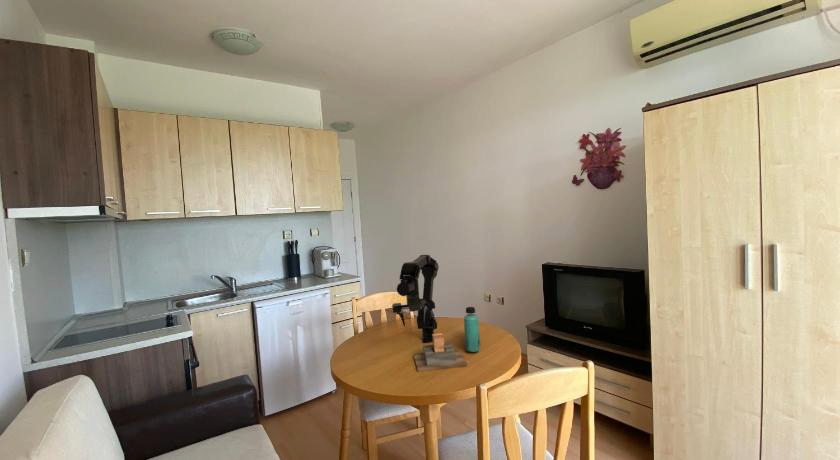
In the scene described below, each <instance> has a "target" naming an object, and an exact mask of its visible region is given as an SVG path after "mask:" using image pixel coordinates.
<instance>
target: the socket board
mask: <svg viewBox="0 0 840 460" xmlns="http://www.w3.org/2000/svg"><path fill="white" fill-rule="evenodd" d="M413 357H414V361H415V365H416V369H417V372H418V373H419V372H420V373H421V372H429V371H438V370H445V369H447V370H448V369H455V368H464V367H468V363H467V360H465V357H464V356H463V355H462V352H461V351H460V350H459V348H453V346H452V344H451V343H450V342H444V351H442V352H433V344H424V345H422V352H417V353H413Z"/></svg>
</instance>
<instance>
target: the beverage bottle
mask: <svg viewBox="0 0 840 460" xmlns="http://www.w3.org/2000/svg"><path fill="white" fill-rule="evenodd" d="M465 313H466V315H465V316H464V317H463V323H464V325H465V330H464V345H465V349H466V351H468V352H473V353H474V352H479V351H481V340H480V324H479V317H478V315H476V307H474V306H468V307H465ZM464 325H463V326H464Z"/></svg>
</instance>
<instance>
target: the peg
mask: <svg viewBox="0 0 840 460" xmlns="http://www.w3.org/2000/svg"><path fill="white" fill-rule="evenodd" d="M432 336H433V342H432V345H433V352H442V351H444V343H445V342H444V341H445V340H444V335H443V333H442V332H441V333H434V334H432Z"/></svg>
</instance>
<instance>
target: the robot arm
mask: <svg viewBox="0 0 840 460" xmlns="http://www.w3.org/2000/svg"><path fill="white" fill-rule="evenodd" d="M439 269H440V268H439V263H438V261H437V260H435V259H434V258H433V257H431V255H429V254H420V255H419V256H417V258H416V259H414V260H413V261H406V262H403V264H402V266H401V270H400V274H399V280H400V283H399V284H397V287H396V292H397V294H398V295H400V296H401V297H406V304H402V302H397V303H395V302H394V303H392V305H391V307H392V313H393V314H394V313H395V314H396V315H398V316H399V318H400V319H401V321H402V322H401V323H402V324H403V327H405V326H406V321H405V317H404V312H403V310H408V309H409V311H410V313H411V312H417V317H416V326H417V329H418V330H421V335H422V337H421V342H422V344H425V343H433V336H432V334H435V333H434V332H435V330H436V329H438V322H437V320H436V318H435V313H434V311H433V310H435V309H436V304H435V302H434V300H433V295H434V294H433V292H434V281H435V278H436V277H437V275H438V271H439ZM420 274H421V275H422V276H423V278H424V279H423V280H424V281H423V291H422V298H420V289H419V288H420V287H419V279H420Z"/></svg>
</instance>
